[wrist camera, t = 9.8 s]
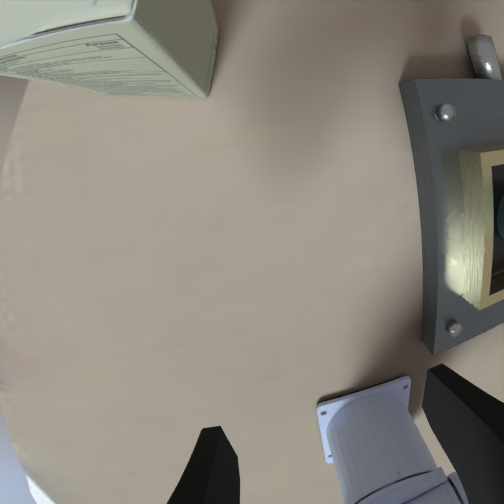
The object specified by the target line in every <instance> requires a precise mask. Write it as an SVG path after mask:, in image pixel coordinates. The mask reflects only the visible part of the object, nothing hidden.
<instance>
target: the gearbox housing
mask: <svg viewBox="0 0 504 504" xmlns="http://www.w3.org/2000/svg"><path fill="white" fill-rule="evenodd" d="M466 43H467V46H468V49H469V53H470V56H471V60H472V63H473V67H474V71H475V75H476V79H470V78H432V79H414V80H410V81H407V82H403V83H400V84H399V88H400V92H401V96H402V101H403V105H404V110H405V114H406V119H407V124H408V129H409V135H410V140H411V146H412V152H413V159H414V165H415V173H416V180H417V188H418V198H419V208H420V219H421V233H422V252H423V322H422V341H423V343H424V344H425V345H426V346H427V348H428V349H429V350H430V352H431V353H432V354H433V355H435V354H437V353H440V352H442V351H444V350H447V349H449V348H451V347H454V346H456V345H458V344H460V343H463V342H465V341H467V340H469V339H471V338H473V337H475V336H478V335H480V334H482V333H484V332H486V331H488V330H490V329H492V328H494V327H496V326H498V325H500V324H501V323H503V322H504V239H503V238H502V237H501V236H500V233H499V231H498V226H497V212H498V207H499V203H500V201H501V198H502V196H503V194H504V80H503V77H502V73H501V69H500V65H499V61H498V58H497V54H496V51H495V47H494V44H493V41H492V37H491V36H486V35H476V36H470V37H467V38H466Z"/></svg>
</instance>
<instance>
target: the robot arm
mask: <svg viewBox="0 0 504 504" xmlns="http://www.w3.org/2000/svg"><path fill="white" fill-rule="evenodd" d="M410 387H411V379H410V377H409V376H403V377H401V378H398V379H395V380H392V381H390V382H387V383H384V384H381V385H378V386H375V387H372V388H369V389H366V390H363V391H359V392H356V393H353V394H350V395H346V396H343V397H339V398H336V399H332V400H329V401H325V402H321V403H319V404H318V405H317V406H316V411H317V416H318V421H319V427H320V432H321V438H322V443H323V449H324V454H325V460H326V463H334V466H335V470H336V474H337V478H338V482H339V486H340V489H341V493H342V497H343V501H344V504H504V403H503V402H501V401H499V400H498V399H496V398H494V397H492V396H491V395H489V394H488V393H486V392H484V391H483V390H481V389H480V388H478V387H477V386H475V385H473V384H472V383H470V382H469V381H468V380H466V379H465V378H463V377H462V376H460V375H459V374H457V373H456V372H454V371H453V370H451V369H450V368H448V367H447V366H445V365H444V364H440V365H437V366H435V367H433V368H430V369H428V371H427V378H426V385H425V391H424V397H423V403H422V408H423V410H424V412H425V415H426V417H427V420H428V422H429V424H430V427H431V429H432V431H433V432H434V434H435V436H436V437H437V439H438V441H439V443H440V444H441V446H442V448H443V450H444V451H445V453H446V455H447V456H448V458H449V460H450V462H451V463H452V465H453V467H454V469H455V470H456V472H457V473H456V472H453V473H451V474H449V475H448V476H447V477H446V475H445V473H444V471H443V469H442V467H439V468H438V467H437V465H436V463H435V461H434V459H433V457H432V455H431V453H430V451H429V449H428V447H427V445H426V443H425V441H424V440H423V438H422V436H421V434H420V432H419V430H418V428H417V426H416V424H415V422H414V421H413V419H412V417H411V415H410V413H409V411H408V404H409V396H410ZM323 411H324V412H323ZM167 504H240V475H239V466H238V457H237V455H236V453H235V451H234V450H233V448H232V446H231V444H230V442H229V441H228V439H227V437H226V435H225V433H224V432H223V430H222V428H221V426H217V427H209V428H203V429H202V430H201V432H200V435H199V438H198V440H197V443H196V445H195V448H194V450H193V453H192V455H191V457H190V459H189V462H188V464H187V466H186V468H185V470H184V472H183V474H182V476H181V479H180V481H179V483H178V484H177V486H176V488H175V490H174V492H173V493H172V495H171V497H170V499H169V500H168V502H167Z"/></svg>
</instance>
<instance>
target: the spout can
mask: <svg viewBox="0 0 504 504" xmlns="http://www.w3.org/2000/svg"><path fill="white" fill-rule="evenodd" d="M497 226H498V231H499V233H500V236H501V237H502V238H503V239H504V194H503V196H502V198H501V201H500V203H499V207H498V212H497Z"/></svg>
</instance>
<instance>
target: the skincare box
mask: <svg viewBox="0 0 504 504" xmlns="http://www.w3.org/2000/svg"><path fill="white" fill-rule="evenodd" d="M218 33H219V27H218V24H217V20H216V16H215V12H214V9H213V5H212V1H211V0H0V75H3V76H11V77H17V78H24V79H31V80H36V81H42V82H47V83H53V84H58V85H63V86H68V87H73V88H78V89H83V90H87V91H91V92H96V93H100V94H104V95H128V96H170V97H197V98H207V97H208V96H209V92H210V86H211V80H212V74H213V68H214V61H215V55H216V48H217V41H218Z"/></svg>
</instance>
